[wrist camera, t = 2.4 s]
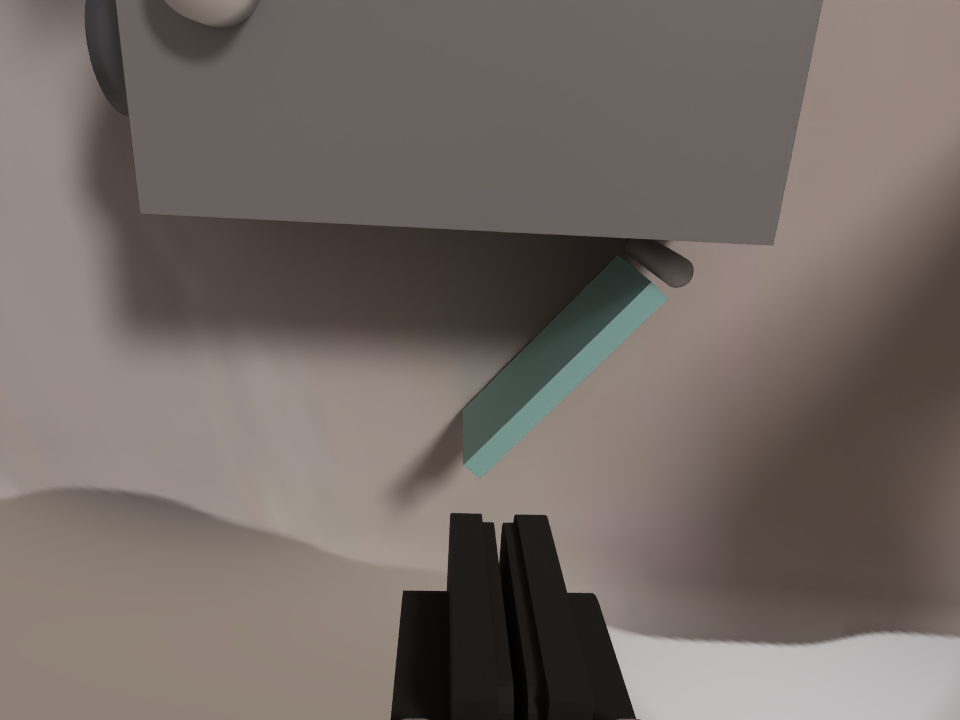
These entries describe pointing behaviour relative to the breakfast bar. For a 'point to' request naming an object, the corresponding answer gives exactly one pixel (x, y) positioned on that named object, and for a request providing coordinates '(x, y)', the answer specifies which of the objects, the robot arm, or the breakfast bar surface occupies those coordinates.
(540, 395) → the side door
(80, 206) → the breakfast bar surface
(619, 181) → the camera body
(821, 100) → the breakfast bar surface
